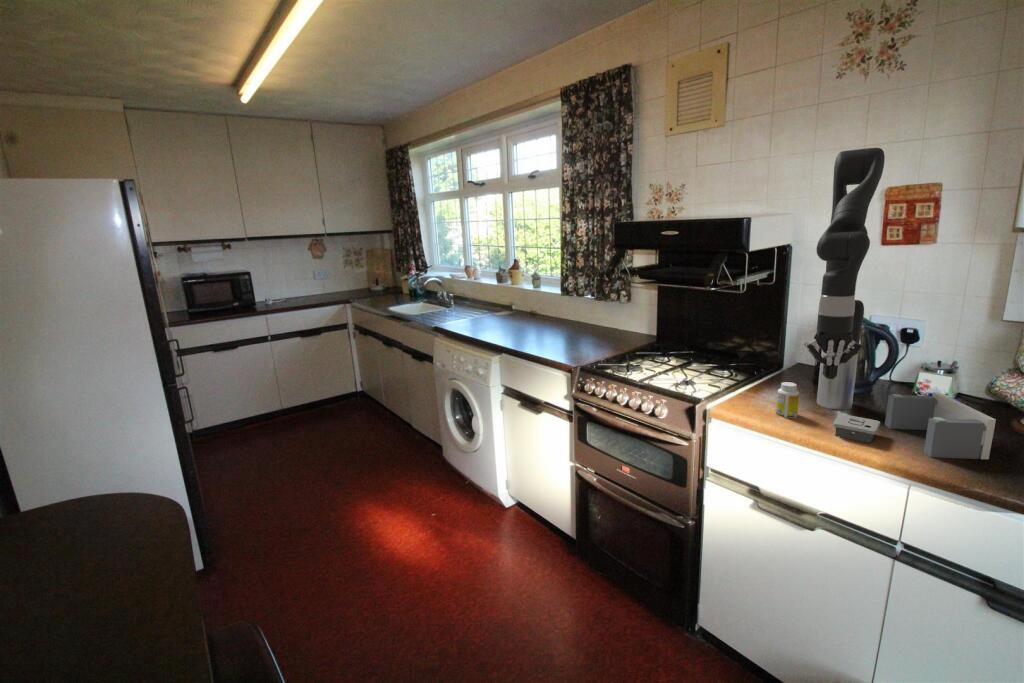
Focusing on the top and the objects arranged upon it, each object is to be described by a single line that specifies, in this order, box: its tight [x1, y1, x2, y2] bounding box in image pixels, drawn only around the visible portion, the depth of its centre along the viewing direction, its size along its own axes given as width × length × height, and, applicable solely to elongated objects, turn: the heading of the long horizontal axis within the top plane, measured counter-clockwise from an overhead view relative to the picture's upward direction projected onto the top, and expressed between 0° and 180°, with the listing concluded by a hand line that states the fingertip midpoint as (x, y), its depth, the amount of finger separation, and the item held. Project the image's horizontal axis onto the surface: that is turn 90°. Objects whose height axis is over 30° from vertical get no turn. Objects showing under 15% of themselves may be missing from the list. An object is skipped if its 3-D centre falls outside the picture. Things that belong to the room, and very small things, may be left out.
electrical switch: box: [832, 413, 881, 444], centre depth 127 cm, size 9×5×9 cm
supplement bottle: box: [775, 381, 800, 419], centre depth 142 cm, size 6×6×10 cm
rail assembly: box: [884, 391, 997, 460], centre depth 122 cm, size 20×12×10 cm, turn 169°
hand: (829, 378), depth 124 cm, fingers closed
